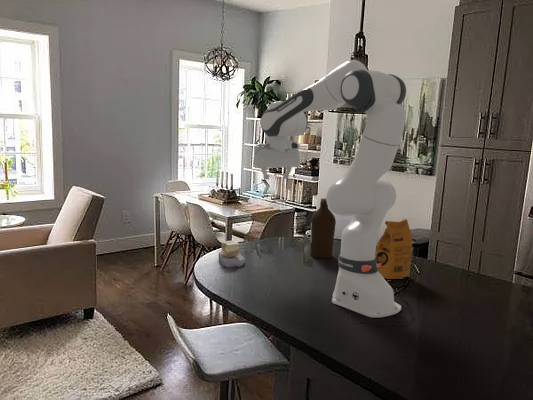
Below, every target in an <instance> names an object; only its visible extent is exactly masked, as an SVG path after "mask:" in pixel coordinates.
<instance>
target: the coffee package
mask: <svg viewBox="0 0 533 400" xmlns="http://www.w3.org/2000/svg"><path fill="white" fill-rule="evenodd" d="M384 225H386V228H385V230H384V232H383V234H382V235H381V236H380V238H379V240H378V241H377V244H376V254H375V257H376V259H377V263H378V264H379V263H382V264H381V265H379V266H381V267H378V268H379V272H380V274H381V275H382V276H383V278H387V279H398V278H403V277H405V276H409V277H410V273H411V263H412V255H413V251H412V250H413V236H412V231H411V229H410V225H409V222H408V219H407V218H404V219H402V220H401V221H393V220H386V221H385V222H384Z"/></svg>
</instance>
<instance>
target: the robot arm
mask: <svg viewBox="0 0 533 400" xmlns="http://www.w3.org/2000/svg"><path fill="white" fill-rule="evenodd" d="M406 95H407V87H406V83H405V81H404V80H403V79H402V78H400V77H399V76H397V75H394V74H391V73H389V74H388V73H385V72H381V71H379V70H372V69H371V70H368V69H367V66H366V65H365V64H364V63H363V62H361V61H360V60H355V59H352V60H348V61H346V62H344V63H342V64H340V65H339V66H337V67H336V68H334V69H332V71H330V72H329V73H328V74H326V75H325V76H324V77H323V78H321V79H319V80H318V81H317V82H315V83H313V84H311V85H310V86H308V87H305V88H304V89H302V90H300V91H298V92H296V93H295V94H292V95H291V96H290V97H289V98H287V99H286V100H285V101H283V100H279V101H273V102H271V103H270V105H269V107H268V108H267V109H265V111H264V112H263V114H262V115H261V117H260V121H259V122H260V128H261V130H262V132H263V133H264V134H265V135H266V143H258V144H256V145H255V147H254V155H253V161H252V163H253V164H252V165H253V167H254V168H258V169H261V171H260V172H262V174H263V180H270V175H269V174H268V173H267V171H268V168H269V169H273V168H274V169H275V168H277V169H278V168H282V169H283V168H285V173H283V174H282V176H283V177H282V178H283V179H285V180H287V179H289V177H290V174H291V171H292V168H298V167H299V166H300V163H301V161H300V160H301V153H300V150H299V149H300V143H299V142H295V141H294V140H291V139H290V137H299V136H302V135H304V134H305V133H306V132H307V129H308V126H309V122H308V117H307V115H306V114H305V112H311V111H312V112H313V111H315V112H316V111H318V112H319V111H332V110H336V109H338V108H340V107H342V106H344V105H345V104H347V105H349V106H350V107H352V108H354V109H353V110H355V111H356V112H357V113H359V114H361V113H364V112H365V114H366V124H365V127H364V130H363V133H362V134H361V135H362V136H361V139H360V142H359V145H358V149H357V151H356V153H355V156H354V158H353V160H352V162H351V164H350V166H348V168H347V169H346V171H345V173H343V175H341V177H340V178H339V179H338V180H337V181H336V182H334V183H333V184H331V185H330V186H329V188H328V190H327V191H326V192H327V193H326V195H325V197H326V198H325V199H326V201H327V205H328V209H329V210H330V211H331V212H332V214H335V215H339V216H343V217H344V216H347V217H351V216H352V218H351V220H350V222H349V223H348V224H347V225H346V226H345V227H344V228H343V230H342V232H341V238H340V239H341V241H340V253H339V254H338V259H337V260H338V261H337V262H338V263H337V265H338V273H337V277H336V280H335V281H336V282H335V286H334V290H333V293H332V298H331V303H332V304H334V305H337V306H340V307H343V308H345V309H347V310H350V311H353V312H356V313H357V314H360V315H363V316H366V317H369V318H385V317H389V316H393V315H396V314H398V313H399V312H401V310H402V305H401V304H399V303H397V302H396V301H395V292H394V289H393V287H392V286H391V285H390V284H389V282H388V281H386V280H385V279H384V278H383V276H382V275H381V274H380V272H379V268H378V267H381V266H379V265H381V264H382V263H379V264H378V263H377V259H376V248H377V244H378V235H379V231H380V229H381V225H382V223H383V221H384V218H385V217H386V215H387V213H388V212H389V211H390V210H391V209H392V207H393V206H394V205H395V203H396V202H397V201H396V200H397V191H396V188H395V186H394V185H393V184H392V183H391V182H389V181H386V180H384V179H381V178H382V176H384V175H385V174H386V173H388V172H389V170H391V168H392V166H393V165H394V161H395V159H396V154H397V152H398V150H399V147H400V144H401V140H402V137H403V132H404V128H405V123H406V116H407V115H406V111H405V108H404V107H403V106H402V105H401V104H402V103H403V102H404V100H405V98H406Z"/></svg>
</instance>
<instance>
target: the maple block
mask: <svg viewBox="0 0 533 400" xmlns="http://www.w3.org/2000/svg"><path fill="white" fill-rule="evenodd" d="M221 251H222V255H224V256H226V257H233V256H239V253H240V243H238V242H237V241H235V240H227V241H221Z"/></svg>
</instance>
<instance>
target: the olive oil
mask: <svg viewBox="0 0 533 400" xmlns="http://www.w3.org/2000/svg"><path fill="white" fill-rule="evenodd" d="M336 222H337V221H336V216H335V215H334V213H333V212H332V211H331V210H330V209H329V207H328V205H327V201H326V198H320V204H319V207H318V209H316V211H314V213H313V214H312V216H311V218H310V252H309V253H310V256H311V257H312V258H316V259H324V260H325V259H330V258H332V257H333V250H334V242H335V241H334V240H335V232H336Z"/></svg>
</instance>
